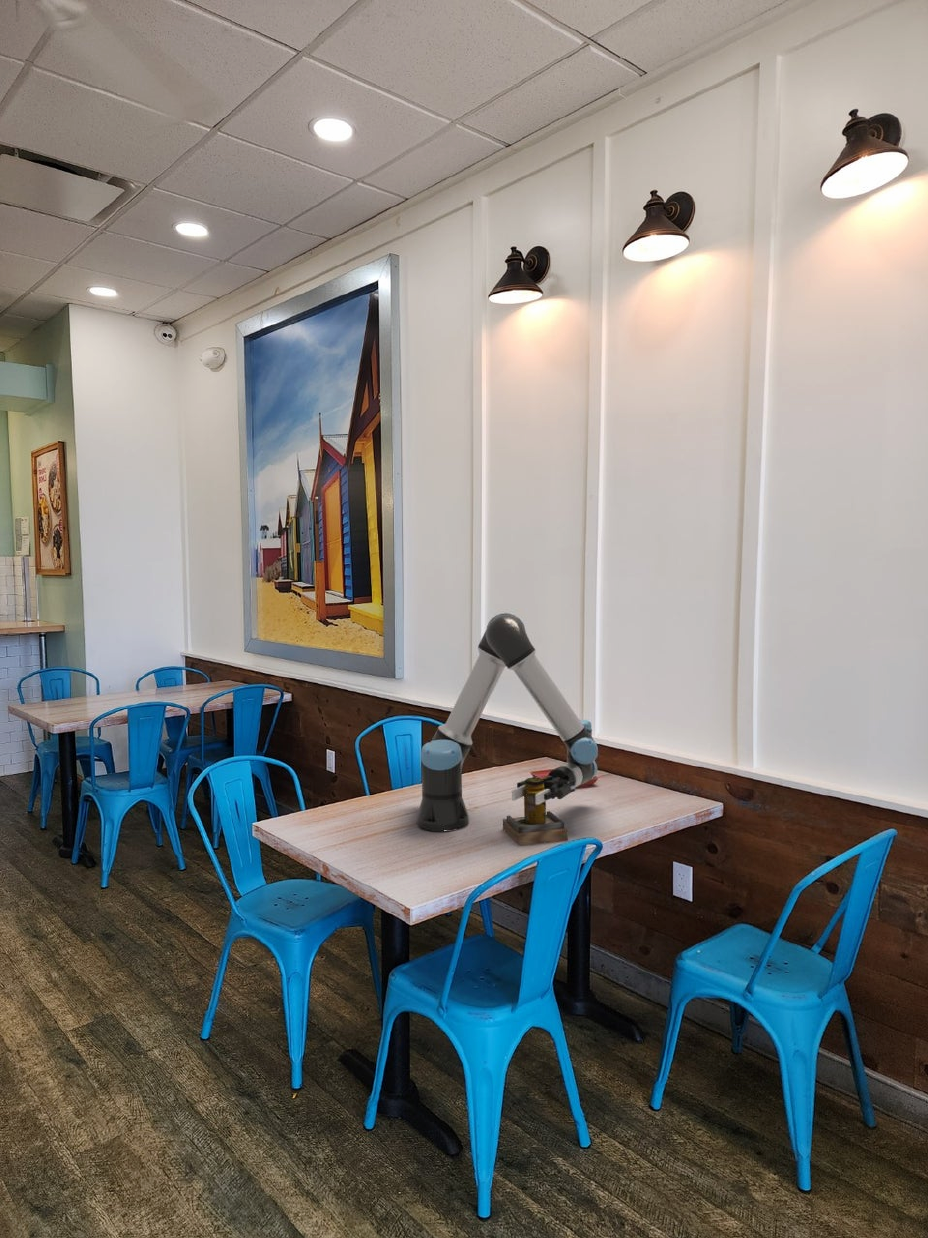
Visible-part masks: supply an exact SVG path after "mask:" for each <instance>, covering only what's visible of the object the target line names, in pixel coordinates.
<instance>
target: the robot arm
mask: <svg viewBox="0 0 928 1238" xmlns="http://www.w3.org/2000/svg"><path fill="white" fill-rule="evenodd" d="M477 650H478V653H479V655H478V657H477V660H476V661H475V663H474V666H473V667H472V670H471V671H470V673H469V676H468V677H467V679H466V680H465V681H466V682H465V683H464V686H463V687H462V690H461V692H460V694H459V696H458V698H457V700H456V701H455V704H454V705H453V708H452V710H451V712H450V714H449V716H448V718H447V720H446V722H445V723H444V724H441V725H439V726H438V727H437V729H436V731H435V734H434V735H433V737H432V740H431V741H430V742H428V741H427V742H426V743H425V744H424V745H423V746H422V748H421V750H420V751H421V753H420V760H421V761H420V762H421V791H422V792H421V795H422V796H421V797H422V798H421V801H420V804H419V807H418V812H417V815H416V826H417V827H418V826H419V827H418V828H420V827H421V828H420V829H422V828H424V829H423V830H425V829H426V830H425V831H429V830H433V831H432V832H445V831H444V830H453V831H455V830H454V829H458V830H461V829H464V828H465V826H466V827H467V826H468V825H469V823H470V821H469V820H470V819H469V813H468V810H467V807H466V804H465V801H464V798H463V775H462V773H463V770H462V769H463V764H464V763H465V762H464V761H465V759H466V758H467V755H468V753H469V752H470V749H471V747H472V746H473V740H472V734H473V732H474V731H475V728H476V726H477V724H478V722H479V720H480V718H481V716H482V714H483V712H484V710H485V708H486V705H487V704H488V703H489V700H490V699H491V696H492V694H493V692H494V690H495V687H496V686H497V683H498V682H499V680H500V678H501V676H502V674H503V672H504V670H505V668H507V669H508V670H512V671H514V673H515V674H516V676H517V677H518V679H519V681H520V682H521V683H522V685H523V686H524V688H525V689H526V691H527V692H528V693H529V694H530V696H531V698H532V699H533V700H534V702H535V703H536V704H537V706H538V707H539V709H540V710H541V712H542V713H543V715H544V716H545V718H546V719H547V720H548V722H549V723H550V725H551V727H552V728H553V730H555V732H556V733H557V735H558V736H559V737H560V739H561V741H562V742H563V743H564V744H563V745H565V747H566V752H567V753H566V763H564V764H562V765H560V766H558V767H555V768H552V769H553V770H552V771H551V772H550V773H549V775H548V776H546V777H544V778H541V779H543V780H544V789H545V790H544V791H542V792H540V793H538V794H536V795H535V798H536V805H539V804H541V803H543V802H545V801H546V802H547V801H549V800H551V799H552V800H554V799H556V798H557V800H562V799H563V798H565V797H566V796H568V795H569V794H571V793H575V792H576V788H575V787H577V786H580V785H582V784H584V783H587V782H589V781H590V780H591V779H592V778H594V777H595V776H596V775H597V773H598V765H597V763H596V761H595V760H596V759H597V757H598V755H599V748H598V745H597V742H596V741H595V740H594V738H593V736H592V734H593V733H592V732H593V729H592V728H593V727H592V722H591V721H589V720H588V719H581V718H579V717H578V715H577V714H576V713H575V711H574V710H573V708H572V706H571V705H570V704H569V703H568V701H567V700H566V698H565V697H564V695H563V694H562V692H561V691H560V690H559V688H558V687H557V685H556V684H555V682H554V681H553V679H552V678H551V676H550V675H549V674H548V672H547V670H546V669H545V667H544V666H543V664H542V663H541V662H540V660H539V658H538V657H537V656H536V651H537V650H536V648H535V647H534V645H533V644H532V642H531V641H530V638H529V636H528V634H527V632H526V628H525V624H524V623H523V621H522V620H521V619H520V618H519V617H518V616H516V615H515V614H512V613H508V612H507V613H506V612H504V613H503V612H502V613H499V614H497V615H494V617H492V618H491V619H490V620H489V622H488V623H487V626H486V629H485V631H484V633H483V635H482V638H481V640H479V644H478V645H477ZM531 778H537V776H532V777H531ZM525 780H526V779H525ZM525 780H522V781H519V782H517V783H516V788H514V789H512V790H511V801H517V800H518V799H521V798H524V789H525ZM463 827H464V828H463ZM460 828H461V829H460Z"/></svg>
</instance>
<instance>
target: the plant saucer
mask: <svg viewBox="0 0 928 1238" xmlns="http://www.w3.org/2000/svg"><path fill="white" fill-rule="evenodd" d="M553 769H554V768H549V769H541V770H532V771H529V774H530V775H531V776H532V777H533V776H537V778H544V777H546V776H548V775H549V773H550V772H551V771H552V770H553ZM598 780H599V777H598V776H596V775H595V777H594V778H592V779H591V780H590V781H589V782H587V783H584V784H582V785H580V786H577V787H575V789H576V788H584V787H585V788H586V787H592V786H594V784H595V783H596V782H597V781H598Z"/></svg>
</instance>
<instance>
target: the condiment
mask: <svg viewBox="0 0 928 1238" xmlns="http://www.w3.org/2000/svg"><path fill="white" fill-rule="evenodd" d="M544 790H545V789H544V780H543V779H541V778H532V777H528V778H526V779H525V789H524V796H523V809H524V810H523V813H524V814H523V817H524V818H525V819H521V820H518V821H516V822H518V823H519V824H520V825H522V826H529V825H538V824H547V823H551V822H553V821H549V820H546V815H547V801H545V802H543V803H541V804H539V805H536V798H535V795H536V794H538V793H540V792H542V791H544Z"/></svg>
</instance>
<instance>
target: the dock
mask: <svg viewBox="0 0 928 1238" xmlns="http://www.w3.org/2000/svg"><path fill="white" fill-rule="evenodd" d="M521 819H525V818H524V816H520V817H518V816H517V817H512V816H511V815H510V814H509V815H506V818H503V819H502V831H504V830H505V831H504V832H505V833H506V834H507V835H508V836H509V837H510V838H511V839H512V840H513V842H515V843H516V844H517V845H518V846H519V845H520V846H528V845H536V844H537V843H538V844H544V842H546V843H554V842H562V841H568V839H569V834H568V833H569V832H568V831H569V829H568V828H567V827H565V825H566V824H565V822H564V821H563V820H562V819H560V818H559V817H558V816H556V814H554V813H553V812H551V810H549V811H546V820H549V821H553V822H551V823H547V824H538V825H529V826H522V825H520V824H519V823H518V822H516V821H518V820H521ZM546 843H545V844H546Z"/></svg>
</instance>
